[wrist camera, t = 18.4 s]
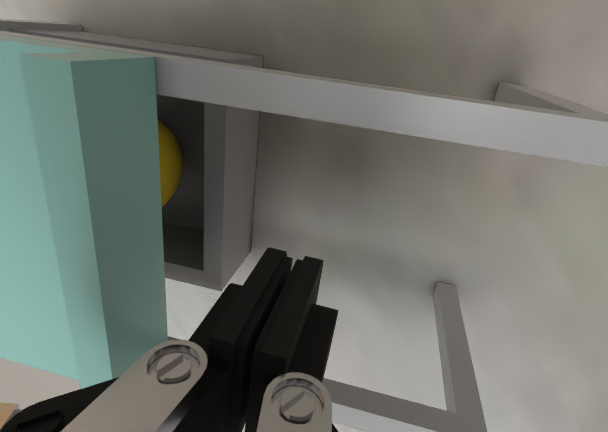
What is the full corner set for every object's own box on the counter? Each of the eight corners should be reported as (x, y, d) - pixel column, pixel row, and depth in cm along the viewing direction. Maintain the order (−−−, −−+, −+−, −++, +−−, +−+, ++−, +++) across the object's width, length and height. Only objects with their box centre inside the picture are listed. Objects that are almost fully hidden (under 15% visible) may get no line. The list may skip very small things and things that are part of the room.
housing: (65, 23, 21) (-176, 8, 12) (522, 85, 18) (645, 127, 9) (91, 219, 26) (-67, 308, 18) (450, 299, 23) (481, 464, 14)
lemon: (166, 209, 24) (67, 278, 17) (102, 137, 23) (-31, 178, 16) (227, 158, 22) (142, 213, 15) (159, 75, 21) (32, 91, 14)
